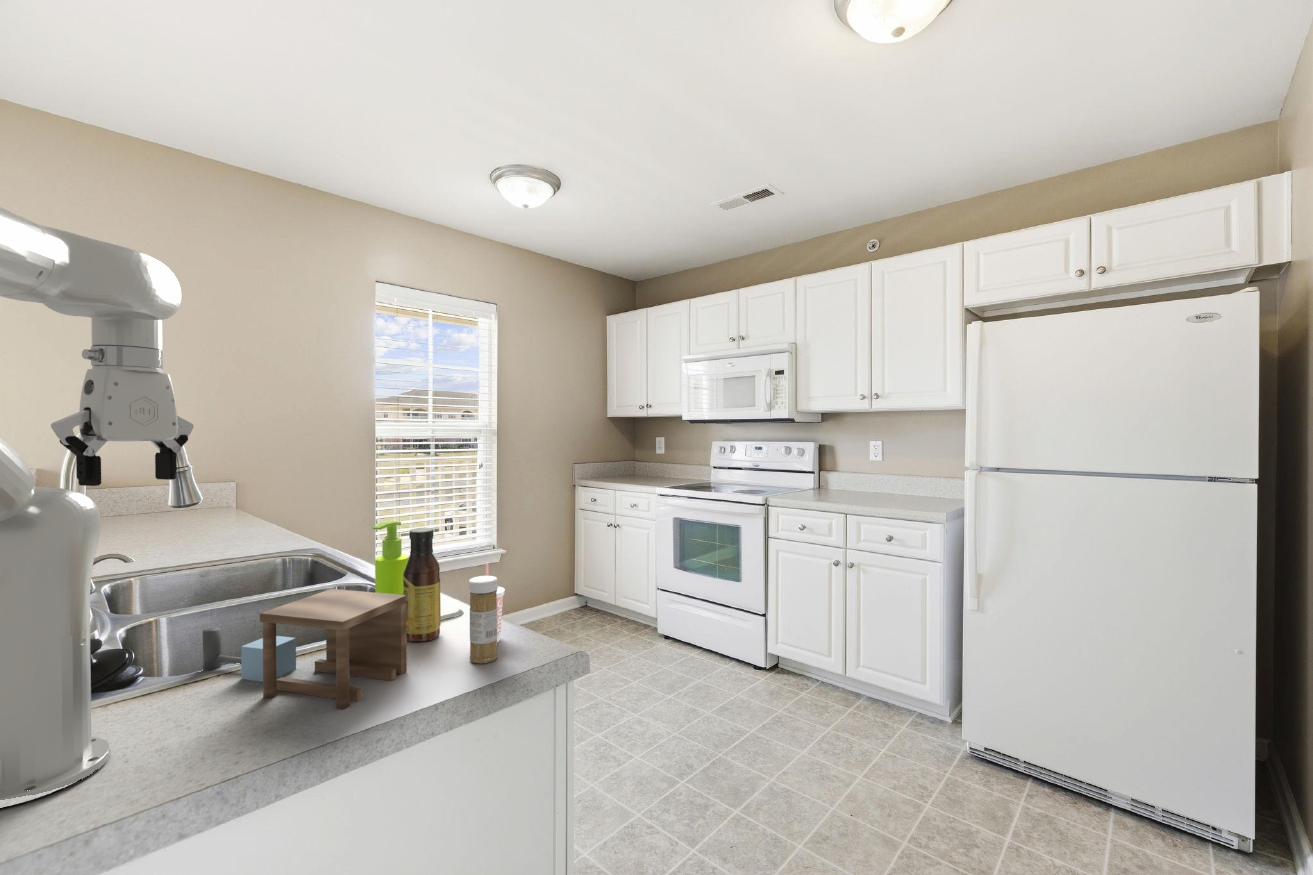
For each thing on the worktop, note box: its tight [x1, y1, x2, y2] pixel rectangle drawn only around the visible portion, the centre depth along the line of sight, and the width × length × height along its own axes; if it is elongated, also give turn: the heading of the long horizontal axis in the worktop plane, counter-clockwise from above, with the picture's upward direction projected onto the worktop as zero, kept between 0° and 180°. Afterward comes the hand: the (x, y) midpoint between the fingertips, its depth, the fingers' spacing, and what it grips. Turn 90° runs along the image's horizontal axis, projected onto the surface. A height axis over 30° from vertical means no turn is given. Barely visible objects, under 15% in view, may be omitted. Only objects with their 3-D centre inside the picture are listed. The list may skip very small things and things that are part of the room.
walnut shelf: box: [259, 588, 408, 710], centre depth 88 cm, size 13×14×12 cm
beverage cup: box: [468, 562, 505, 643], centre depth 106 cm, size 6×6×14 cm
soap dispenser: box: [371, 520, 410, 595], centre depth 114 cm, size 6×7×20 cm
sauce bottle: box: [403, 527, 442, 643], centre depth 107 cm, size 7×6×20 cm
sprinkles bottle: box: [468, 575, 499, 664], centre depth 97 cm, size 5×5×14 cm
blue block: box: [202, 626, 297, 683], centre depth 93 cm, size 5×15×6 cm, turn 77°
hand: (129, 482), depth 84 cm, fingers open, 9 cm apart
